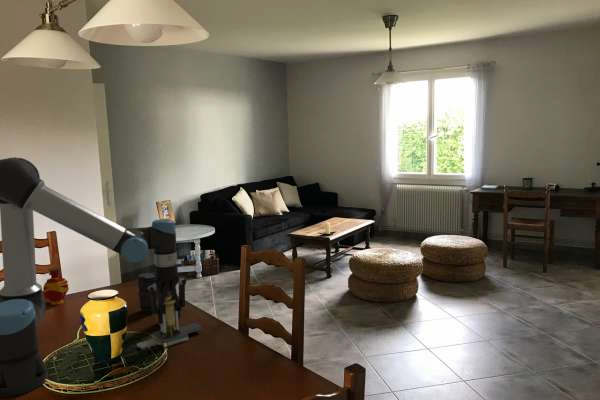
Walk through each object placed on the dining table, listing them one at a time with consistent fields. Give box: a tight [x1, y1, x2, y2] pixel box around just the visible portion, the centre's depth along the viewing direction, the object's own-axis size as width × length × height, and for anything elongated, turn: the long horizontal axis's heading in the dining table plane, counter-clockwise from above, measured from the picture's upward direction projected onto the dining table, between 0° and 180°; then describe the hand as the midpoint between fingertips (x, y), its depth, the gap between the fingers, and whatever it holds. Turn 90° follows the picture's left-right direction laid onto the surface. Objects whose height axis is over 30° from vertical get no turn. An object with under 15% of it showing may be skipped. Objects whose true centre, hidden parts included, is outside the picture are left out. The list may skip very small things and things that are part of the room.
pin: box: [163, 297, 176, 338], centre depth 162 cm, size 5×5×13 cm
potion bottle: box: [42, 267, 70, 306], centre depth 202 cm, size 10×10×15 cm
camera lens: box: [137, 272, 155, 314], centre depth 190 cm, size 8×8×15 cm
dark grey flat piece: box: [136, 322, 203, 350], centre depth 163 cm, size 22×9×2 cm, turn 130°
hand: (169, 329), depth 162 cm, fingers closed on pin, 4 cm apart
